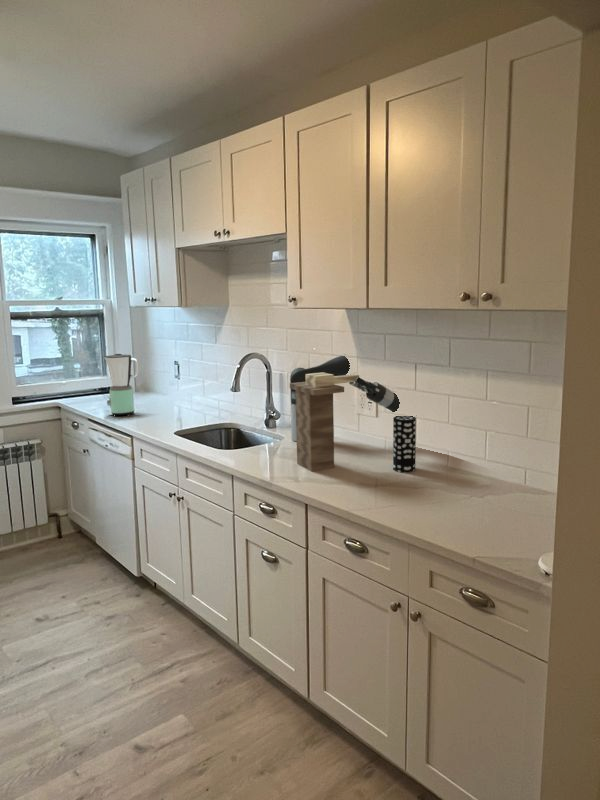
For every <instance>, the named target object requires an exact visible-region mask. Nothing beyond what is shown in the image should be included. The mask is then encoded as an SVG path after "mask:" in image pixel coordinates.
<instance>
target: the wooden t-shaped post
mask: <svg viewBox="0 0 600 800" xmlns="http://www.w3.org/2000/svg"><path fill="white" fill-rule="evenodd" d="M289 389H290V390H291V389H294V390H295V394H296V434H297V442H296V462H297V465H299V466H300V467H302V468H304V469H306V470H308V471H309V472H316V470H317V471H323V470H327V469H328V470H329V469H333V467H334V468H335V442H334V441H335V436H334V435H335V431H334V430H335V429H334V426H335V425H334V394H338V393H340V394H341V393H345V386H341V385H339V384H334V385H330V386H320V387H314V386H310V385H306V382H298V383H290V382H289ZM322 469H323V470H322Z"/></svg>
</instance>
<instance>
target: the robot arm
mask: <svg viewBox="0 0 600 800" xmlns="http://www.w3.org/2000/svg"><path fill="white" fill-rule="evenodd" d="M349 364H350V363H349V361H348V359H347V358H346V357H345V356H342V355H339V356H337V357H333V358H331V359H329V360H327V361H326V362H324V363H322V364H320V365H316V366H313V367H309V368H304V367H297V368H294V369H293V370H292V371H291V373H290V376H289V377H290V378H289V380H290V381H289V384H290V383H298V382H306V379H305V374H312V373H323V372H324V373H328V374H333V375H334V376H343V375H346V374H347V373H348V371H349V369H350V368H349V367H350V365H349ZM348 384H349V385H350V386H353V387H355V388H357V389H358V390H361V392H364V393H365V396H366V398H367V399H368V400H369V401H372V402H373V403H375V404H377V405H379V406H381V407H383V408H385V409H387V410H389V411H390V412H391V411H392V412H395V411H397V409H398V408H399V404H400V402H399V399H398V397H397V395H396V394H395V393H394V391H392V390H390V389H389V388H388V387H386V386H384V385H383V384H380V383H379V382H377V381H376V382H375V381H374V382H371V381H368V380H365V379H363V378H361V377H360V376H359V377H357V378H356V381H355V382H348ZM392 412H391V413H392ZM290 413H291V414H290V415H291V416H290V418H291V419H290V424H291V425H290V427H291V431H290V433H291V440H292V442H296V441H297V434H296V394H295V390H294V389H290Z"/></svg>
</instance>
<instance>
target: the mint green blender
mask: <svg viewBox="0 0 600 800" xmlns="http://www.w3.org/2000/svg"><path fill="white" fill-rule="evenodd" d="M103 358H104V359H105V362H106V365H107V367H108V371H109V376H110V380H111V386H110V388H109V397H108V398H107V399H106V404H107V406H109V408H110V413H111V415H112V416H113V415H117V416H127V415H130V416H131V414H133V413H135V401H134V400H135V398H134V389H133V387H132V386H131V385H130V381H131V379H134V378H136V377H137V376H138V375H139V362H138V360H137V358H135V357H132V355H131V354H121V353H115V354H112V355H111V354H110V355H104V356H103ZM132 362H134V365H135V366H134V367H135V369H134V370H135V373H134V374H132V373H131V372H132Z"/></svg>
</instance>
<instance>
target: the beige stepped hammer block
mask: <svg viewBox="0 0 600 800" xmlns="http://www.w3.org/2000/svg"><path fill="white" fill-rule="evenodd" d="M357 377H359V378H360V375H359V374H355V373H353V374H350V375H343V376H334V375H333V374H328V373H324V372H323V373H312V374H305V379H306V385H310V386H314V387H320V386H330V385H334V384H335V385H339V384H345V383H348V384H349V382H354V383H355V381H356V378H357Z"/></svg>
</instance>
